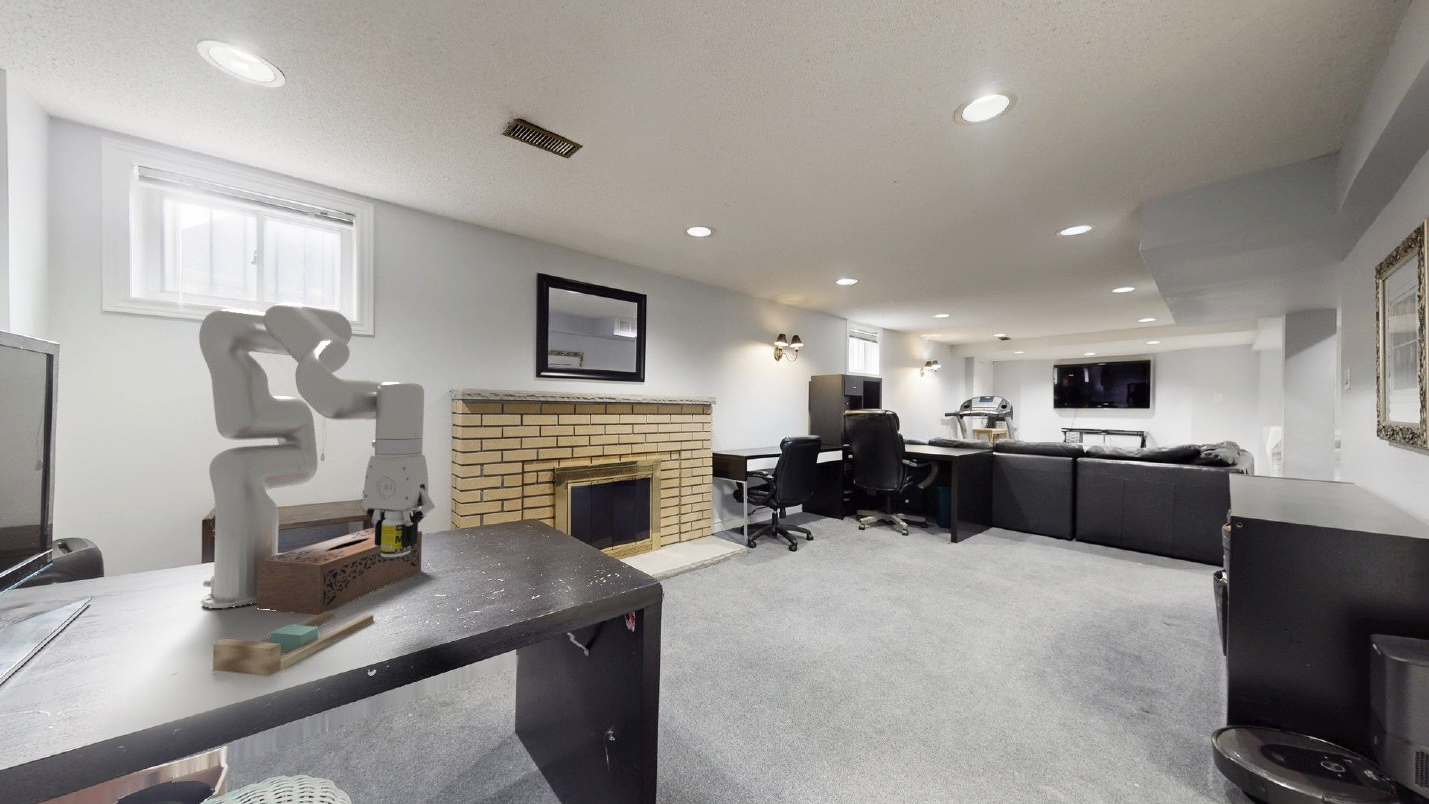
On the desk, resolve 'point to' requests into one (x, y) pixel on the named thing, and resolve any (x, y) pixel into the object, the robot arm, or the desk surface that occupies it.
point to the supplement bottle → (393, 535)
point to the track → (276, 648)
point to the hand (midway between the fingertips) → (396, 543)
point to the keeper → (293, 636)
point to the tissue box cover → (330, 573)
